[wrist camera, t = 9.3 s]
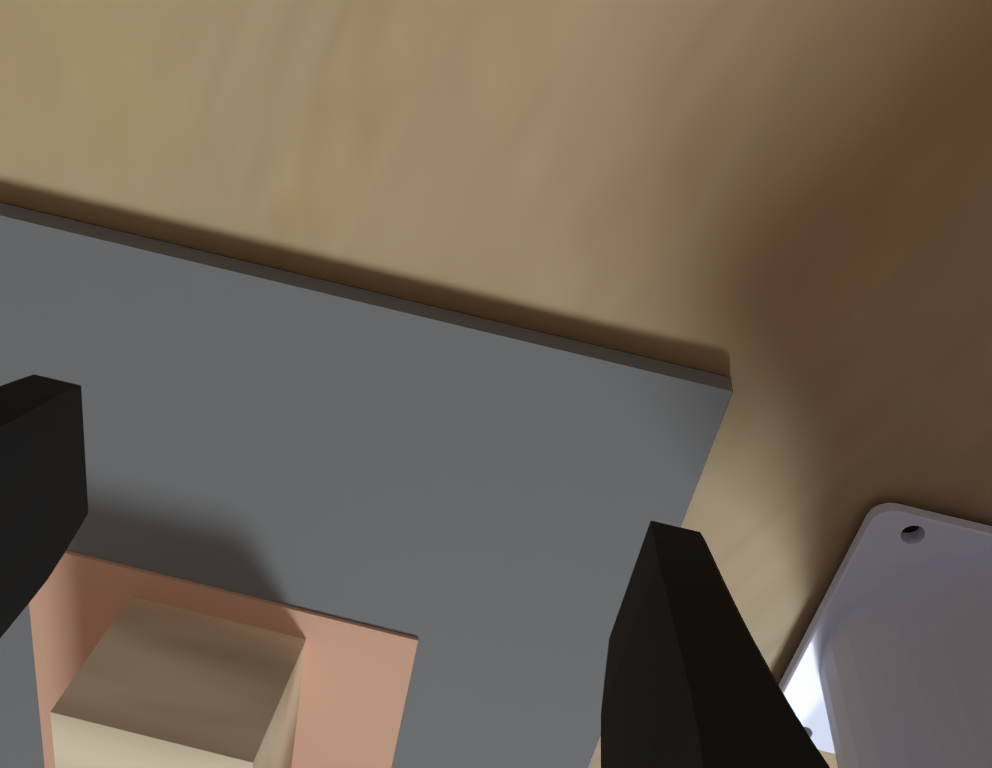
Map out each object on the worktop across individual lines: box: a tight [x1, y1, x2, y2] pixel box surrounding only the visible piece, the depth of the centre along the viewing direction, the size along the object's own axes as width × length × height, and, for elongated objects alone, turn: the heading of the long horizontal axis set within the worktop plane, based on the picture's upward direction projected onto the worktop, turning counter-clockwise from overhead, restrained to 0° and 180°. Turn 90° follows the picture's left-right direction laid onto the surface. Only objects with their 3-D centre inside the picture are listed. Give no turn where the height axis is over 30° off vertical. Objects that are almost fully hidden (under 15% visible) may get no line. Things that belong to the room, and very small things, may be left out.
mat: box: [0, 203, 733, 768], centre depth 26 cm, size 20×22×1 cm
